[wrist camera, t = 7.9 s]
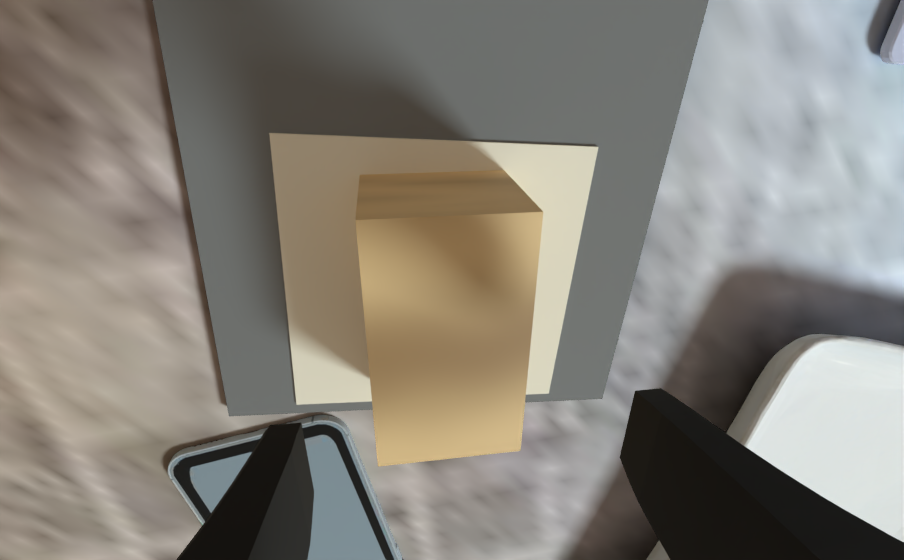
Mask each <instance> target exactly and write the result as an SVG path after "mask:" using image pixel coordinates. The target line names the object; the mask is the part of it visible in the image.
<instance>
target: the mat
mask: <svg viewBox="0 0 904 560" xmlns="http://www.w3.org/2000/svg"><path fill="white" fill-rule="evenodd" d="M152 1H153V7H154V12H155V17H156V23H157V28H158V34H159V39H160V45H161V50H162V55H163V61H164V66H165V72H166V77H167V82H168V88H169V93H170V99H171V104H172V110H173V115H174V120H175V126H176V131H177V137H178V142H179V148H180V153H181V158H182V164H183V169H184V175H185V180H186V186H187V191H188V196H189V202H190V207H191V213H192V218H193V224H194V229H195V234H196V240H197V245H198V251H199V256H200V262H201V267H202V272H203V278H204V283H205V289H206V294H207V299H208V305H209V310H210V316H211V321H212V327H213V332H214V337H215V343H216V348H217V354H218V359H219V365H220V370H221V375H222V381H223V386H224V392H225V397H226V403H227V408H228V413H229V416H245V415H266V414H288V413H309V412H330V411H351V410H373V406H372V395H371V385H370V374H369V363H368V352H367V341H366V330H365V320H364V309H363V298H362V287H361V276H360V265H359V255H358V244H357V233H356V222H355V218H356V208H357V198H358V187H359V177H360V175H368V174H399V173H430V172H460V171H491V170H505V172H506V173H507V174H508V175H509V176H510V177H511V178H512V179H513V180H514V181H515V182H516V183H517V184H518V185H519V186H520V187H521V189H522V190H523V191H524V192H525V193H526V194H527V195H528V196H529V197H530V198H531V199H532V200H533V201H534V202H535V203H536V204H537V206H538V207H539V208H540V209H541V210H542V211H543V221H542V232H541V242H540V252H539V263H538V273H537V283H536V294H535V304H534V314H533V325H532V335H531V345H530V356H529V366H528V377H527V387H526V397H525V402H543V401H564V400H586V399H602V397H603V394H604V390H605V386H606V382H607V379H608V375H609V371H610V367H611V364H612V360H613V356H614V352H615V349H616V345H617V341H618V337H619V334H620V330H621V326H622V322H623V319H624V315H625V311H626V307H627V304H628V300H629V296H630V292H631V289H632V285H633V281H634V277H635V274H636V270H637V266H638V262H639V259H640V255H641V251H642V248H643V244H644V240H645V236H646V233H647V229H648V225H649V221H650V218H651V214H652V210H653V206H654V203H655V199H656V195H657V191H658V188H659V184H660V180H661V176H662V173H663V169H664V165H665V161H666V158H667V154H668V150H669V146H670V143H671V139H672V135H673V131H674V128H675V124H676V120H677V116H678V113H679V109H680V105H681V101H682V98H683V94H684V90H685V86H686V83H687V79H688V75H689V71H690V68H691V64H692V60H693V56H694V53H695V49H696V45H697V41H698V38H699V34H700V30H701V27H702V23H703V19H704V15H705V12H706V8H707V4H708V0H152Z"/></svg>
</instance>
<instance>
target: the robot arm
mask: <svg viewBox="0 0 904 560" xmlns="http://www.w3.org/2000/svg"><path fill="white" fill-rule="evenodd" d="M880 56H881V59H882V61H883V62H885V63H889V64H902V65H904V0H901V1H900V3H899V6H898V8H897V11H896V13H895V15H894V18H893V20H892V22H891V25H890V27H889V29H888V32H887V34H886V37H885V39H884V41H883V44H882V46H881V50H880ZM620 459H621V461H622V464H623V467H624V469H625V472H626V474H627V477H628V479H629V482H630V484H631V486H632V489H633V491H634V493H635V496H636V498H637V500H638V503H639V504H640V506H641V508H642V510H643V512H644V514H645V515H646V517H647V519H648V521H649V523H650V524H651V526H652V528H653V530H654V532H655V534H656V535H657V537H658V539H659V541H660V542H661V544H662V546H663V548H664V550H665V551H666V553H667V555H668V557H669V558H670V560H904V542H902V541H900V540H898V539H896V538H895V537H893V536H891V535H889V534H887V533H885V532H884V531H882V530H880V529H878V528H876V527H875V526H873V525H871V524H869V523H867V522H866V521H864V520H862V519H860V518H858V517H857V516H855V515H853V514H851V513H850V512H848V511H846V510H844V509H842V508H841V507H839V506H837V505H836V504H834V503H832V502H831V501H829V500H827V499H826V498H824V497H822V496H821V495H819V494H817V493H816V492H814V491H813V490H811V489H809V488H808V487H806V486H805V485H803V484H801V483H800V482H798V481H797V480H795V479H793V478H792V477H790V476H789V475H787V474H786V473H784V472H782V471H781V470H779V469H778V468H776V467H775V466H773V465H772V464H770V463H769V462H767V461H766V460H764V459H763V458H761V457H760V456H758V455H757V454H755V453H754V452H752V451H751V450H749V449H748V448H747V447H745V446H744V445H742V444H741V443H739V442H738V441H736V440H735V439H733V438H732V437H731V436H729V435H728V434H726V433H725V432H723V431H722V430H721V429H719V428H718V427H716V426H715V425H713V424H712V423H711V422H709V421H708V420H706V419H705V418H704V417H702V416H701V415H699V414H698V413H696V412H695V411H694V410H692V409H691V408H689V407H688V406H686V405H685V404H684V403H682V402H681V401H679V400H678V399H676V398H675V397H673V396H672V395H670V394H669V393H667V392H666V391H664V390H663V389H650V390H640V391H635V394H634V398H633V403H632V407H631V411H630V416H629V420H628V424H627V429H626V433H625V437H624V442H623V446H622V450H621V455H620ZM313 502H314V488H313V482H312V477H311V472H310V466H309V461H308V456H307V450H306V445H305V439H304V434H303V429H302V423H301V422H300V423H290V424H279V425H270V426H269V427H268V428H267V429H266V430H265V432H264V433H263V435H262V437H261V438H260V440H259V442H258V443H257V445H256V447H255V448H254V450H253V451H252V453H251V455H250V456H249V458H248V459H247V461H246V463H245V464H244V466H243V467H242V469H241V470H240V472H239V473H238V475H237V476H236V478H235V479H234V481H233V482H232V484H231V485H230V487H229V488H228V490H227V491H226V493H225V494H224V496H223V497H222V498H221V500H220V501H219V503H218V504H217V506H216V507H215V508H214V510H213V511H212V513H211V514H210V516H209V517H208V518H207V520H206V521H205V523H204V524H203V525H202V527H201V528H200V530H199V531H198V532H197V534H196V535H195V536H194V537H193V539H192V540H191V541H190V543H189V544H188V545H187V547H186V548H185V549H184V551H183V552H182V553H181V554H180V556H179V557H178V558H177V560H307V559H308V553H309V548H310V541H311V529H312V516H313Z"/></svg>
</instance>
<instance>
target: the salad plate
mask: <svg viewBox="0 0 904 560" xmlns="http://www.w3.org/2000/svg"><path fill="white" fill-rule="evenodd" d="M726 434H728V435H729V436H731V437H732V438H733V439H735V440H736V441H738V442H739V443H741V444H742V445H744V446H745V447H747V448H748V449H749V450H751V451H752V452H754V453H755V454H757V455H758V456H760V457H761V458H763V459H764V460H766V461H767V462H769V463H770V464H772V465H773V466H775V467H776V468H778V469H779V470H781V471H782V472H784V473H786V474H787V475H789V476H790V477H792V478H793V479H795V480H797V481H798V482H800V483H801V484H803V485H805V486H806V487H808V488H809V489H811V490H813V491H814V492H816V493H817V494H819V495H821V496H822V497H824V498H826V499H827V500H829V501H831V502H832V503H834V504H836V505H837V506H839V507H841V508H842V509H844V510H846V511H848V512H850V513H851V514H853V515H855V516H857V517H858V518H860V519H862V520H864V521H866V522H867V523H869V524H871V525H873V526H875V527H876V528H878V529H880V530H882V531H884V532H885V533H887V534H889V535H891V536H893V537H895V538H896V539H898V540H900V541H902V542H904V346H902V345H897V344H893V343H888V342H884V341H879V340H874V339H869V338H864V337H854V336H843V335H830V334H812V335H807V336H804V337H801V338H799V339H796V340H794V341H793V342H791V343H790V344H788V345H786V346H785V347H784V348H782V349H781V350H780V351H779V352H777V353H776V354H775V355H774V356H773V358H772V359H771V360H770V361H769V362H768V364H767V365H766V367H765V368H764V370H763V371H762V373H761V374H760V376H759V377H758V379H757V380H756V382H755V384H754V386H753V387H752V389H751V391H750V393H749V394H748V396H747V398H746V400H745V402H744V403H743V405H742V407H741V409H740V411H739V412H738V414H737V416H736V417H735V419H734V421H733V422H732V424H731V426H730V427H729V429H728V431H727V432H726ZM646 560H670V558H669V557H668V555H667V553H666V551H665V550H664V548H663V546H662V544H661V542H660V541H658V543H657V544H656V546H655V547H654V549H653V550H652V552H651V553H650V555H649V556H648V558H647V559H646Z"/></svg>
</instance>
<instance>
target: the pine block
mask: <svg viewBox="0 0 904 560" xmlns="http://www.w3.org/2000/svg"><path fill="white" fill-rule="evenodd" d="M542 221H543V211H542V210H541V209H540V208H539V207H538V206H537V204H536V203H535V202H534V201H533V200H532V199H531V198H530V197H529V196H528V195H527V194H526V193H525V192H524V191H523V190H522V189H521V187H520V186H519V185H518V184H517V183H516V182H515V181H514V180H513V179H512V178H511V177H510V176H509V175H508V174H507V173H506V172H505V170H491V171H460V172H430V173H399V174H368V175H360V177H359V187H358V198H357V208H356V218H355V222H356V233H357V244H358V255H359V265H360V276H361V287H362V298H363V309H364V320H365V330H366V341H367V352H368V363H369V374H370V385H371V395H372V406H373V417H374V428H375V439H376V450H377V460H378V466H387V465H396V464H405V463H414V462H423V461H432V460H441V459H450V458H459V457H468V456H477V455H486V454H495V453H504V452H513V451H520V449H521V439H522V428H523V418H524V408H525V397H526V387H527V377H528V366H529V356H530V345H531V335H532V325H533V314H534V304H535V294H536V283H537V273H538V263H539V252H540V242H541V232H542Z"/></svg>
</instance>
